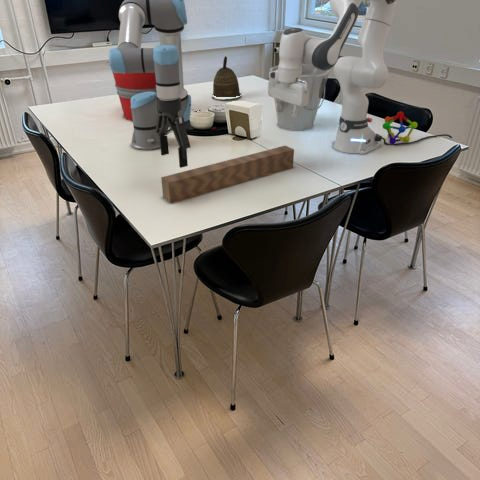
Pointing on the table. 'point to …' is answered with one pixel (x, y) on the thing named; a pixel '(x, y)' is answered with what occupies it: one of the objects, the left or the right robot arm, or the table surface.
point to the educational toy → (398, 128)
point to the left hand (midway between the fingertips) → (174, 160)
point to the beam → (226, 173)
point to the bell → (225, 82)
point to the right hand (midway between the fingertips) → (286, 112)
